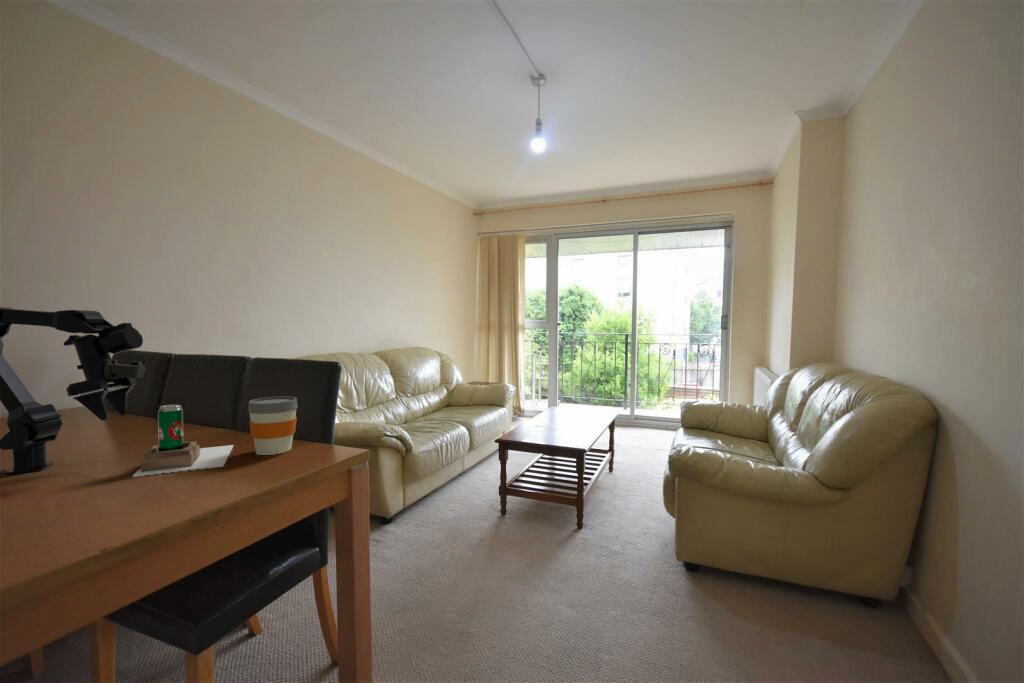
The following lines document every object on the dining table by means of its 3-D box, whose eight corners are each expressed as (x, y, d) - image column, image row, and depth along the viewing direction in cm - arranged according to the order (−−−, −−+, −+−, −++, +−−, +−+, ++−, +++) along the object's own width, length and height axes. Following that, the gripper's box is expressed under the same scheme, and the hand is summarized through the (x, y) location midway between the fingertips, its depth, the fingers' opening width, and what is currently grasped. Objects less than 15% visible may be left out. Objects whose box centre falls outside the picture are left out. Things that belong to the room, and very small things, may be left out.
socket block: (153, 462, 112) (153, 444, 112) (199, 457, 117) (199, 440, 117) (141, 474, 104) (140, 455, 103) (191, 468, 108) (191, 449, 108)
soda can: (159, 451, 111) (158, 405, 110) (184, 447, 114) (183, 403, 113) (157, 455, 107) (156, 408, 106) (183, 452, 110) (182, 406, 109)
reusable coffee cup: (307, 449, 125) (306, 398, 124) (264, 460, 114) (263, 405, 114) (282, 443, 131) (281, 395, 131) (239, 453, 121) (238, 401, 120)
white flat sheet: (157, 454, 119) (157, 452, 119) (233, 446, 127) (233, 444, 127) (132, 477, 101) (132, 475, 101) (223, 466, 109) (223, 464, 109)
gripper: (114, 349, 101) (135, 411, 102) (150, 350, 119) (167, 403, 120) (55, 362, 97) (77, 427, 98) (100, 361, 115) (118, 416, 116)
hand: (114, 417), depth 108 cm, fingers open, 9 cm apart
